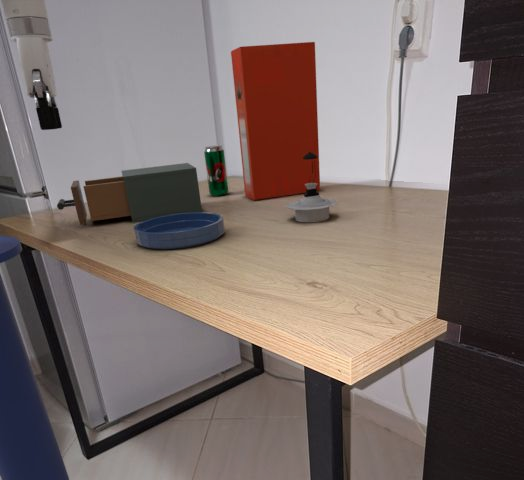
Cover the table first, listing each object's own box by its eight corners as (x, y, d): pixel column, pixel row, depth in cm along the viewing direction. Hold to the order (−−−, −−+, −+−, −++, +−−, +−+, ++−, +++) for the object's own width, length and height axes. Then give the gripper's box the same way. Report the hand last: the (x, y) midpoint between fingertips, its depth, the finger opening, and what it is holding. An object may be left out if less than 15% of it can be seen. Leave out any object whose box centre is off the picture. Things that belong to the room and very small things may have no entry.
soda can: (232, 193, 133) (227, 144, 127) (222, 196, 129) (216, 147, 123) (216, 193, 135) (210, 145, 130) (206, 196, 131) (199, 148, 126)
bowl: (140, 256, 83) (136, 238, 82) (134, 235, 97) (131, 220, 96) (233, 241, 87) (231, 224, 85) (215, 223, 101) (213, 208, 100)
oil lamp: (296, 156, 86) (347, 149, 89) (274, 153, 95) (321, 147, 98) (300, 227, 92) (347, 218, 95) (279, 218, 100) (323, 210, 103)
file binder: (245, 196, 127) (230, 50, 112) (307, 187, 131) (301, 46, 117) (254, 200, 120) (240, 46, 105) (320, 191, 124) (315, 41, 110)
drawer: (60, 227, 106) (50, 189, 103) (64, 217, 116) (55, 183, 112) (147, 215, 110) (140, 178, 107) (143, 207, 120) (137, 173, 116)
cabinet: (132, 222, 109) (123, 176, 105) (129, 212, 120) (121, 170, 116) (202, 212, 113) (196, 167, 108) (193, 203, 123) (187, 162, 119)
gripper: (16, 39, 102) (38, 129, 110) (0, 25, 87) (26, 131, 95) (55, 37, 104) (73, 127, 111) (45, 23, 89) (68, 128, 96)
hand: (52, 129), depth 103 cm, fingers open, 9 cm apart
